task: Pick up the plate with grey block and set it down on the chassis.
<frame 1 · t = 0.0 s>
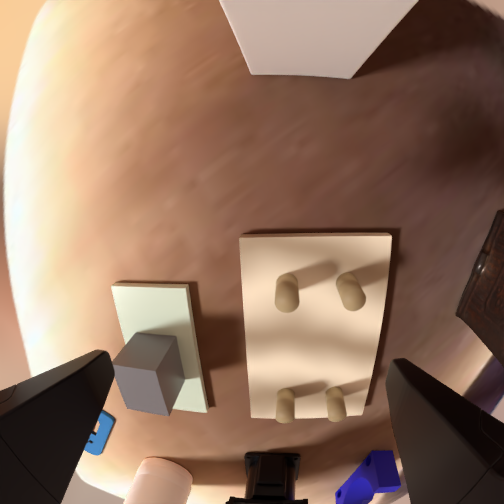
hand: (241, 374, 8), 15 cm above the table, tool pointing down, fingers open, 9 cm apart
chassis: (313, 338, 24), on the table
bottle: (167, 470, 34), on the table
cable clip: (366, 472, 31), on the table
milk carton: (300, 35, 18), on the table
plate with grey block: (164, 349, 27), on the table
pepper mill: (494, 299, 22), on the table
handheld gaming device: (83, 422, 34), on the table
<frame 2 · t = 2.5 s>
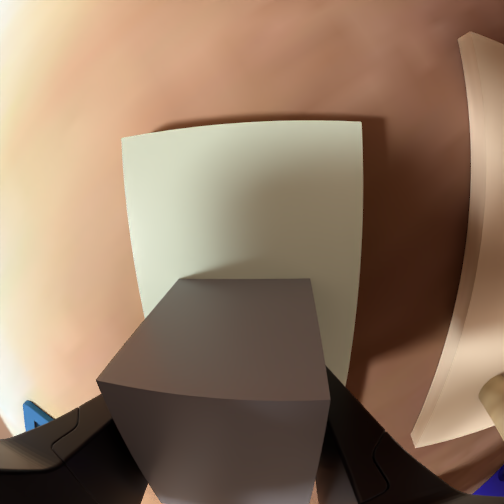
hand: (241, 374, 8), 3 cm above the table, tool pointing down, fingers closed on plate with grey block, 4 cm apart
cable clip: (483, 488, 15), on the table
plate with grey block: (250, 329, 11), on the table, touching gripper
handheld gaming device: (68, 459, 18), on the table
when the fingers open (8 cm above the table, at t = 7.0 s): plate with grey block drops 1 cm, resting on chassis.
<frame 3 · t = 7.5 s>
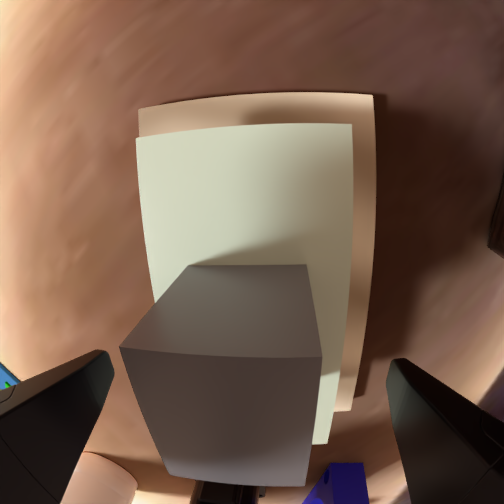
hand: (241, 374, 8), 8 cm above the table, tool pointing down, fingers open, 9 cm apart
chassis: (261, 277, 16), on the table
bottle: (108, 470, 25), on the table
cable clip: (332, 489, 22), on the table
plate with grey block: (252, 314, 12), point 4 cm above the table, touching chassis
handheld gaming device: (17, 404, 25), on the table
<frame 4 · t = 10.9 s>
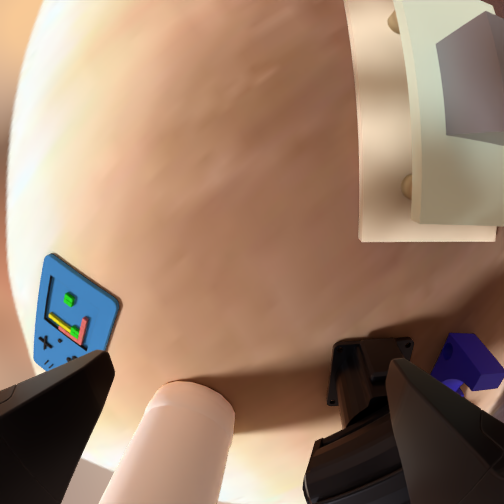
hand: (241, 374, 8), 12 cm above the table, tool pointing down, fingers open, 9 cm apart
chassis: (432, 107, 16), on the table
bottle: (194, 408, 25), on the table
cable clip: (440, 385, 22), on the table
plate with grey block: (461, 97, 12), point 4 cm above the table, touching chassis
handheld gaming device: (71, 333, 25), on the table
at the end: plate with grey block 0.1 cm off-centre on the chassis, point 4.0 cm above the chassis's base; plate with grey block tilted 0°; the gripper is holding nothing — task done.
